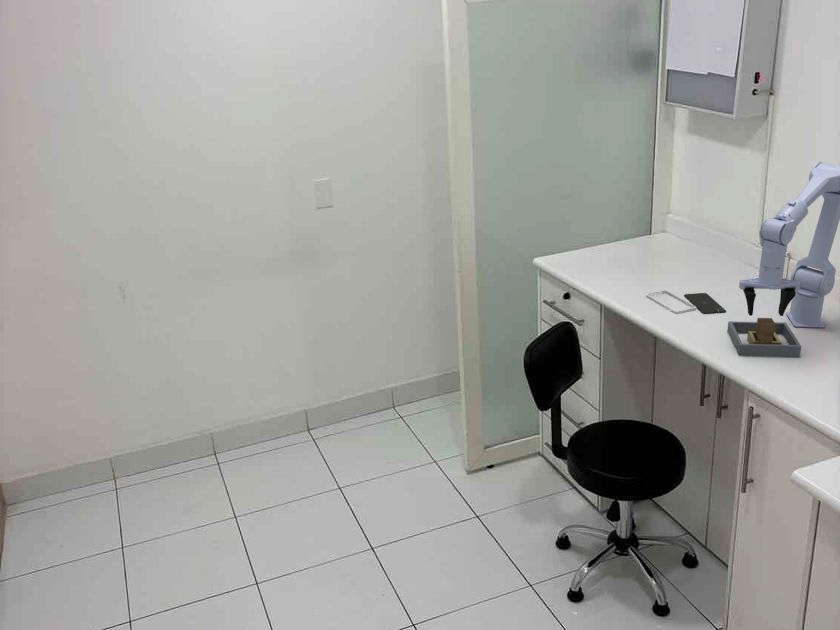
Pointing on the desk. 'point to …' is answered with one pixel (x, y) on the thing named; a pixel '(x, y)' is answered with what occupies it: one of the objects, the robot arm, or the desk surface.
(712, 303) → the smartphone
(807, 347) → the desk surface
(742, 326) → the walled box
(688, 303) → the phone case
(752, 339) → the frame
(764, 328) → the walnut peg
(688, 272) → the desk surface
